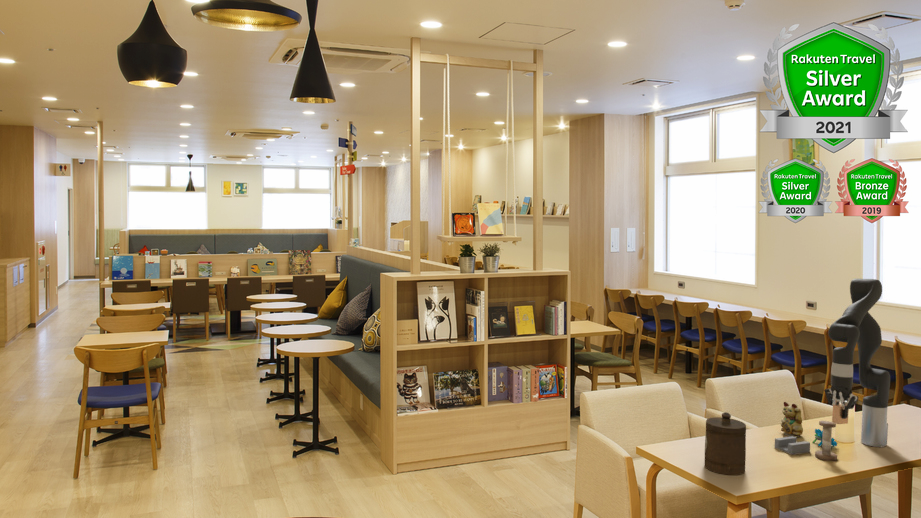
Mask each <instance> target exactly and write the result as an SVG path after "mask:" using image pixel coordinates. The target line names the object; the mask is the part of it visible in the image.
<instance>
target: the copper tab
mask: <svg viewBox="0 0 921 518" xmlns="http://www.w3.org/2000/svg"><path fill="white" fill-rule="evenodd" d="M849 410H850V409H848V413H849ZM831 417H832V418H831V422H833V423H836V425H845V424H849V416H848V417H847V418H846V419H842V404H841V403H840V404H837V405H833V406H832V416H831Z"/></svg>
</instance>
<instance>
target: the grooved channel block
mask: <svg viewBox="0 0 921 518" xmlns="http://www.w3.org/2000/svg"><path fill="white" fill-rule="evenodd" d="M797 438H798V437H793V436H783V437H777V438H774V448H775V449H777V450H780V451H781V450H782V452H785V453H787V454H788V455H791V456H792V455H799V454H806V453H810V452H811V442H809V441H807V440H804V441H798V440H797Z"/></svg>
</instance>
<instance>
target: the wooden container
mask: <svg viewBox="0 0 921 518" xmlns="http://www.w3.org/2000/svg"><path fill="white" fill-rule="evenodd" d="M731 417H732V415H731V414H730V413H729V412H726V411H725V412H722V413H721V417H718V416H717V417H709V418H707V419H706V421H705V440H704V468H706V469H707V470H709V471H711V472H713V473H717V474H721V475H727V476H738V475H742V474H744V473H745V472H746V461H747V460H746V458H747V457H746V454H747V452H746V451H747V449H746V447H747V446H746V445H747V444H746V439H747V438H746V437H747V436H746V435H747V434H746V433H747V425H746V423H745V422H743V421H740V420H737V419H735V418H734V419H733V418H731Z"/></svg>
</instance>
